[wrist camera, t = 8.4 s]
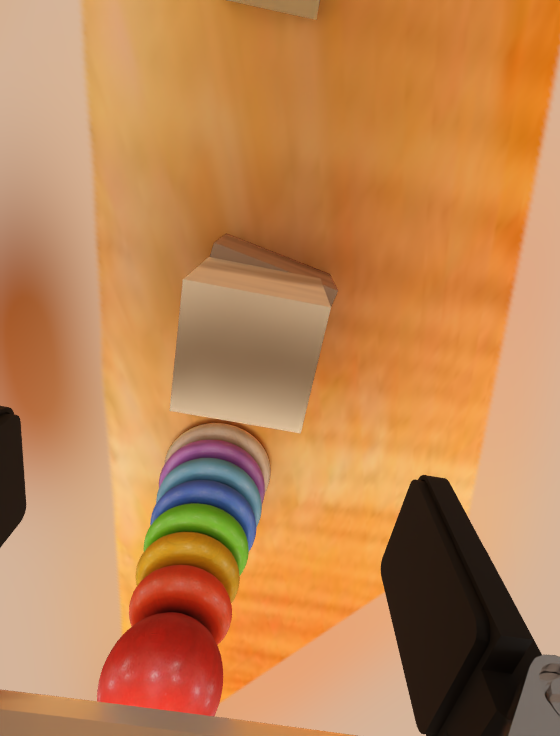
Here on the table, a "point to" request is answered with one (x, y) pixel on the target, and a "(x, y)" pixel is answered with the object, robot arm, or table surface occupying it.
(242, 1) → the sage block
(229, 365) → the maple block
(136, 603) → the stacking toy
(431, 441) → the table surface
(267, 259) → the walnut base
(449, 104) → the table surface
